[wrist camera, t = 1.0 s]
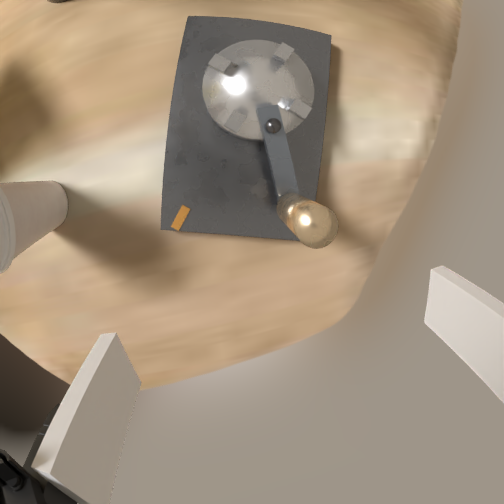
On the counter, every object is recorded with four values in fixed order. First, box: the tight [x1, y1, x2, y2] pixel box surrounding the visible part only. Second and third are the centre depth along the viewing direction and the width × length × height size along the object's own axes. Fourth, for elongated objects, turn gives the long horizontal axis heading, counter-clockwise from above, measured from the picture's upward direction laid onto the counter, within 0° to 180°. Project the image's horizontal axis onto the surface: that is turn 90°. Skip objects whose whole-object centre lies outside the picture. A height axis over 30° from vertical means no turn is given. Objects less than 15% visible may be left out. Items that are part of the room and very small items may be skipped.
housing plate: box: [161, 16, 331, 241], centre depth 28 cm, size 26×17×2 cm, turn 174°
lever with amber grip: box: [202, 40, 338, 249], centre depth 22 cm, size 20×11×12 cm, turn 14°
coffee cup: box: [0, 181, 68, 273], centre depth 22 cm, size 10×10×15 cm
